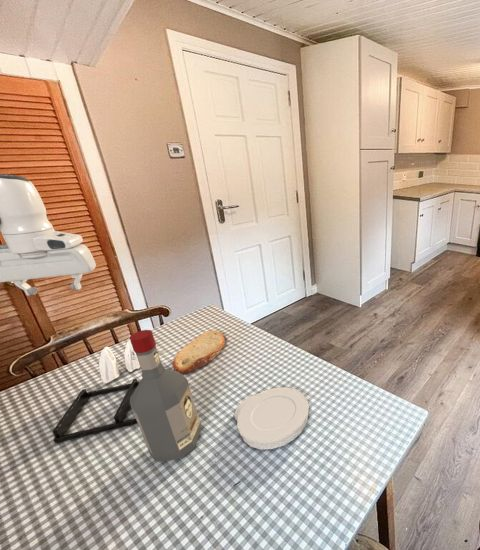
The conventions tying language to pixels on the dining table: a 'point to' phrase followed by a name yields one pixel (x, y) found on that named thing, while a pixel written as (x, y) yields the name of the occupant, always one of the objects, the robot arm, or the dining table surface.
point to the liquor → (163, 404)
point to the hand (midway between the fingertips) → (55, 291)
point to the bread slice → (199, 352)
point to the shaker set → (110, 363)
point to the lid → (272, 417)
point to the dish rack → (118, 417)
